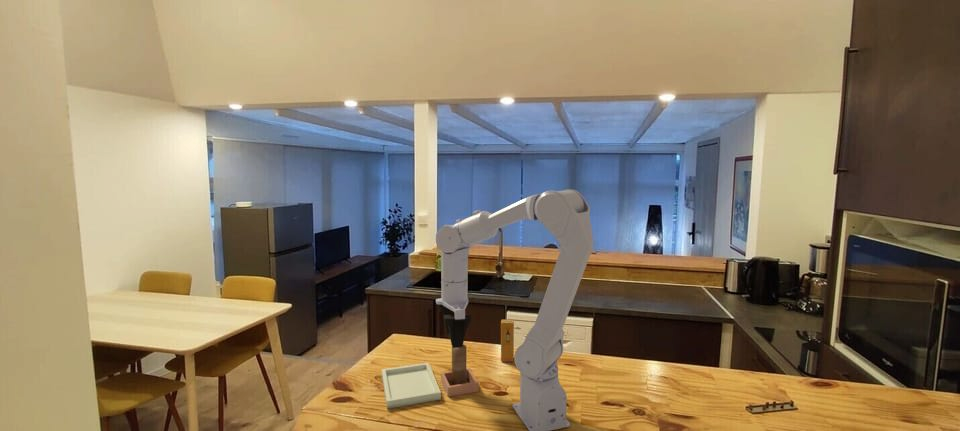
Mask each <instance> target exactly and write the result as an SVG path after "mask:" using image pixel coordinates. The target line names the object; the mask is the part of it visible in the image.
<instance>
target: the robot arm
mask: <svg viewBox="0 0 960 431" xmlns="http://www.w3.org/2000/svg"><path fill="white" fill-rule="evenodd" d="M590 214H591V207H590V206H589V204H588V202H587V200H586V199H585V198H584V196H583V194H582V193H580V192H579V191H578V190H575V189H568V188H567V189H564V190H548V191H544V192H542V193H538V194H534V195H530V196H528V197H527V196H526V197H525V198H523V199H521V200H519V201H516V202H515V203H512V204H510V205H508V206H505V207H503V208H502V209H500V210H496V212H494V213H491V212H489V211H487V210H481V209H479V210H475V211H472V215H471V216H469V217H466V218H464V219H463V218H459V219H457V220H455V224H444V225H442V226H441V227H440V228H438V230H437V232H436V234H435V242H436V246H437V249H439V251H440V252H441V253H440V254H441V256H440V257H441V260H440V262H441V267H440V269H441V270H440V271H441V273H440V274H441V281H440V284H441V286H440V287H441V292H440V293H441V295H440V298H436V299H435V303H436V305H438V306H439V307H440V309H441V311H442V314H443V320H444V326H445V331H446V334H448V335H449V338H450V343H451V344H450V345H451V348H452V347H453V348H459V347H462V346H463V345H464V342H465V336H466V333H467V329H468V328H469V326H470V324H471V322H472V319H473V317H472V315H471V314H466V309H467V306H468V304H469V297H468V296H469V295H468V287H469V286H468V282H469V281H468V278H469V277H468V276H469V275H468V273H469V272H468V269H469V267H468V266H469V259H468V258H469V255H470V248H471V246H474V245H477V244H480V243H482V242H485V241H487V240H490V239H493V238H495V237H496V235H497V234H498V230H499V229H501V228H503V227H506V226H509V225H512V224H515V223H517V222H520V221H523V220H526V219H528V220H531V221H539V223H540V224H541V225H542V226H543V227H544V228H545V229H546V230H548V231H549V233H551V235H553V237H555V239H556V241H557V243H558V244H559V246H560V251H559V253H558V256H557V259H556V262H555V265H554V268H553V271H552V274H551V276H550V279H549V282H548V285H547V288H546V290H545V293H544V297H543V300H542V302H541V305H540V308H539V310H538V313H537V316H536V319H535V322H534V324H533V325H532V326H531V329H530V330H529V331H528V333H527V334H526V336H525V338H524V341H523V343H521V345H520V346H518V347H517V348H516V350H515V351H514V364H515V366H516V369H517V370H518V371H519V372H520V374H519V376H520V379H519V380H520V382H519V386H520V390H519V402H516V403H513V404H512V405H511V406H512V409H513V410H514V411H515V412H516V415H517V416H518V417H519V418H520V420H521V421H522V422H523V424H524V426H525V427H526V429H527V430H528V431H555V430H559V429H564V428H570V426H571V423H570V421H569V420H568V419H567V401H568V400H567V399H568V398H567V393H566V390H565V389H564V388H563V386H562V384H561V383H560V378H559V365H558V360H559V359H560V358H561V357H562V355H563V352H564V343H563V341H564V336H565V334H566V333H565V331H564V329H563V328H564V325H565V323H566V321H567V318H568V315H569V312H570V311H571V310H570V309H571V307H572V304H573V303H574V302H573V301H574V300H575V296H576V294H577V291H578V288H579V286H580V283H581V281H582V277H583V275H584V273H585V270H586V267H587V265H588V261H589V259H590V257H591V253H592V252H593V248H594V244H595V242H594V235H593V229H592V225H591V218H590V216H591V215H590Z"/></svg>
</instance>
